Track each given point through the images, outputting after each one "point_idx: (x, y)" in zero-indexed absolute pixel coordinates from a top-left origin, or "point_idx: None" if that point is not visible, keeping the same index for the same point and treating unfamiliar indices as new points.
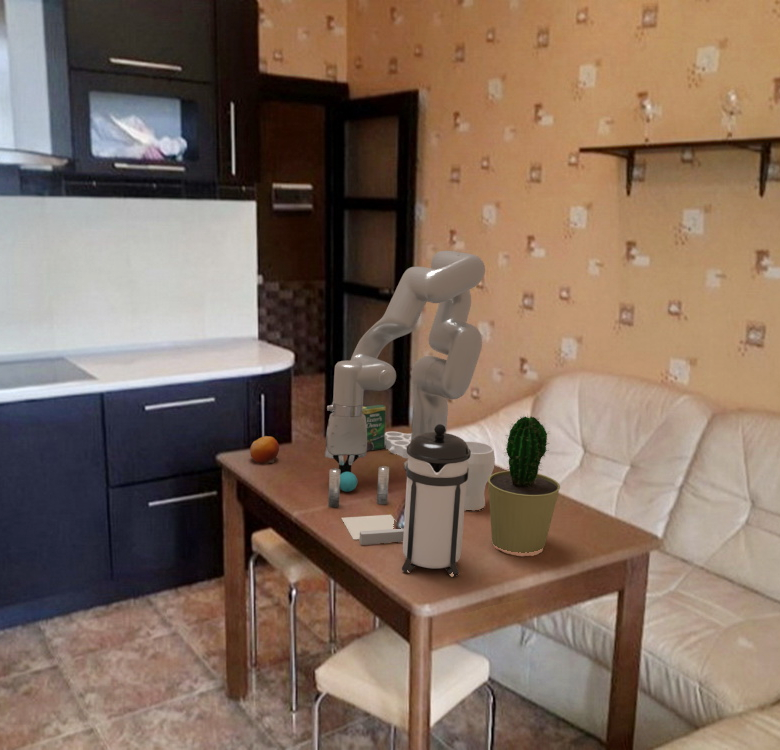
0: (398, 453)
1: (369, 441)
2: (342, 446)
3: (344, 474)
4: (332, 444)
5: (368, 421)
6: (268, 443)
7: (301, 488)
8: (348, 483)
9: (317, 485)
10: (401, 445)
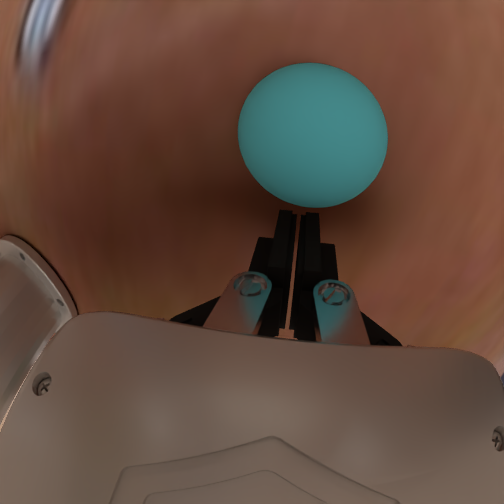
0: None
1: None
2: (380, 461)
3: (355, 129)
4: (499, 463)
5: None
6: None
7: (492, 222)
8: (325, 64)
9: (426, 238)
10: None
